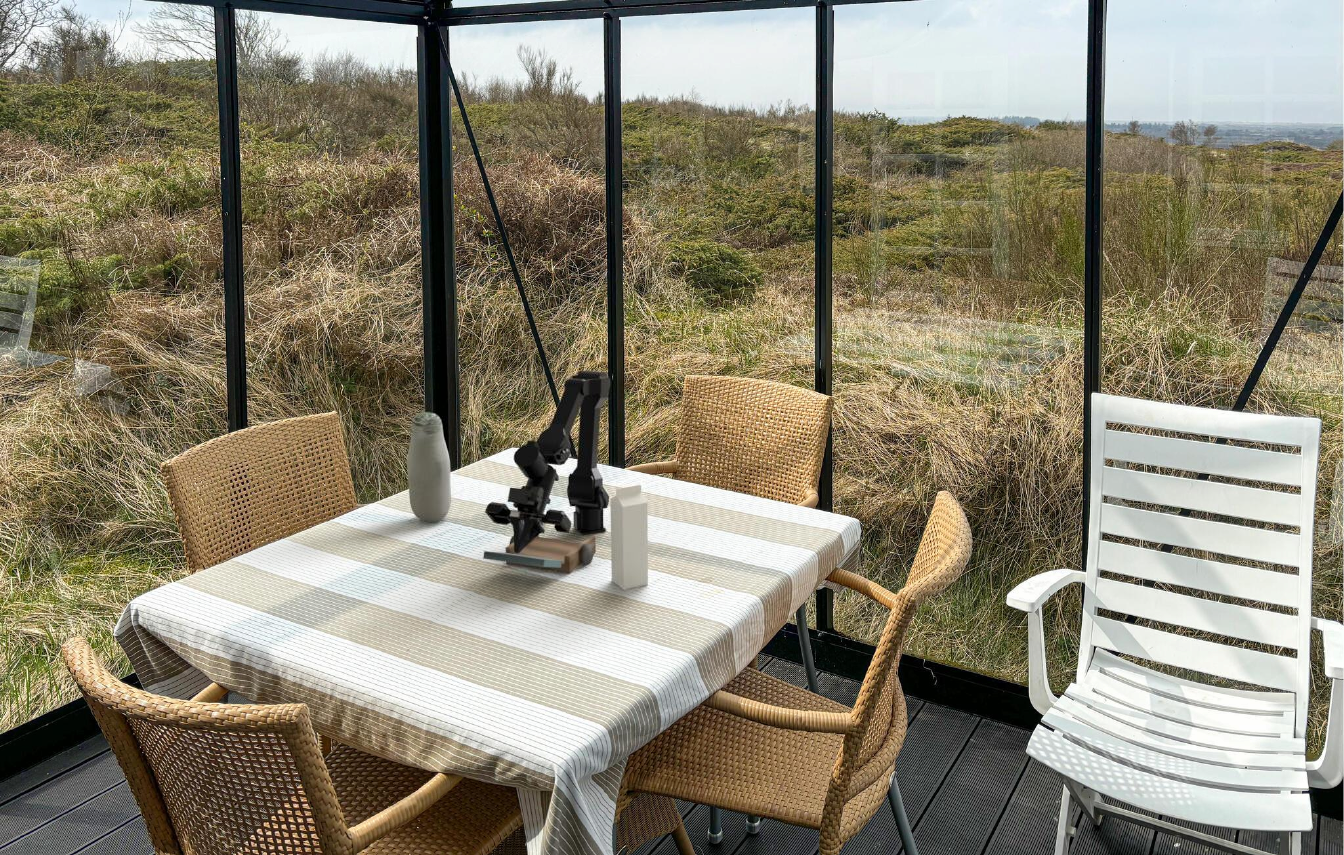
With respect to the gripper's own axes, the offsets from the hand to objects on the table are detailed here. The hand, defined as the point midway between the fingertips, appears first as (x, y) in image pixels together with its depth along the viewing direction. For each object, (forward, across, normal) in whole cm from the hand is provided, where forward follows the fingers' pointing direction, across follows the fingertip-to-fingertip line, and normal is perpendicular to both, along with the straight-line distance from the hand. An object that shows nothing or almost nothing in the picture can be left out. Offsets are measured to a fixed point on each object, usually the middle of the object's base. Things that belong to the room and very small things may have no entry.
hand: (516, 552), depth 249 cm
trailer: (-6, 0, +17) cm, 18 cm away
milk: (-1, +23, +12) cm, 26 cm away
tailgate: (-2, 0, +9) cm, 9 cm away
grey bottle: (-16, -40, +26) cm, 51 cm away
